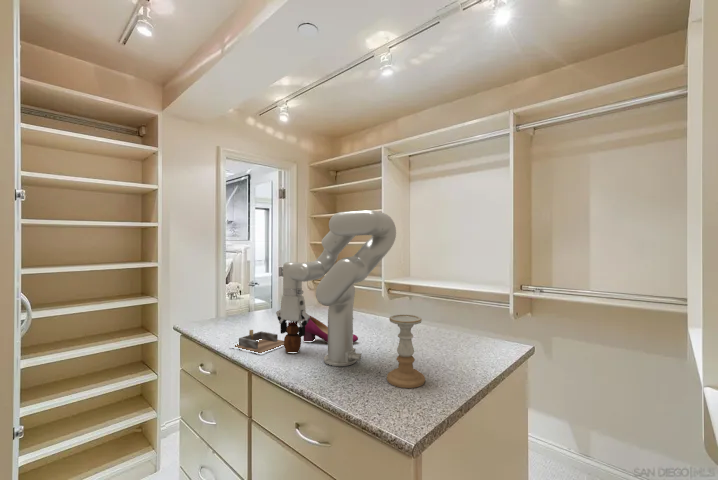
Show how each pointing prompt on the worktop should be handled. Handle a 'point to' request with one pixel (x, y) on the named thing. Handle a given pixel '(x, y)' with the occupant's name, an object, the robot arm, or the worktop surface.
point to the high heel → (318, 330)
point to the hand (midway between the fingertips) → (292, 334)
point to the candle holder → (405, 354)
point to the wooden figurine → (292, 338)
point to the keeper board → (263, 345)
